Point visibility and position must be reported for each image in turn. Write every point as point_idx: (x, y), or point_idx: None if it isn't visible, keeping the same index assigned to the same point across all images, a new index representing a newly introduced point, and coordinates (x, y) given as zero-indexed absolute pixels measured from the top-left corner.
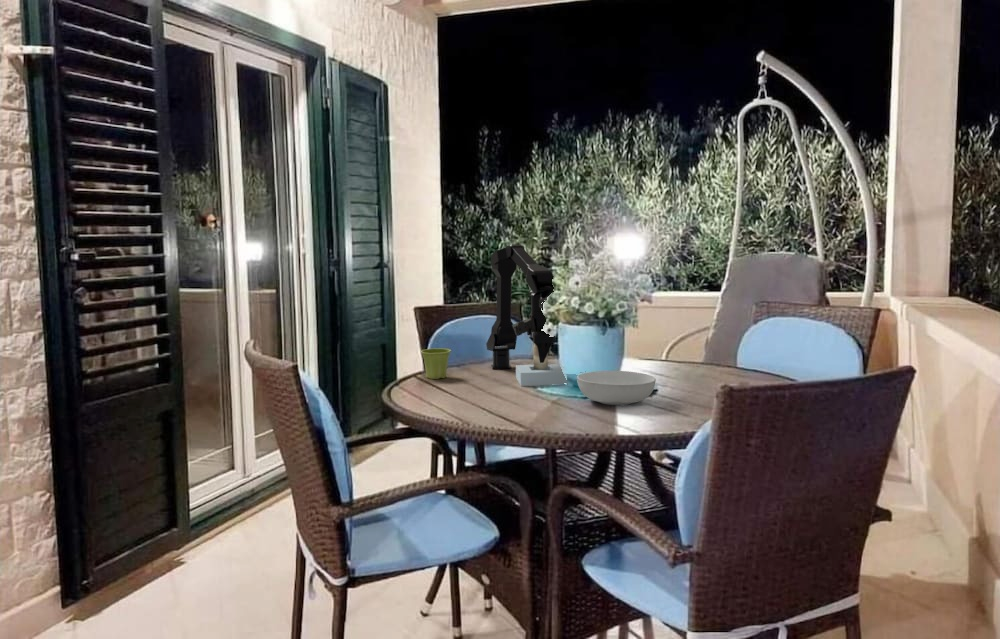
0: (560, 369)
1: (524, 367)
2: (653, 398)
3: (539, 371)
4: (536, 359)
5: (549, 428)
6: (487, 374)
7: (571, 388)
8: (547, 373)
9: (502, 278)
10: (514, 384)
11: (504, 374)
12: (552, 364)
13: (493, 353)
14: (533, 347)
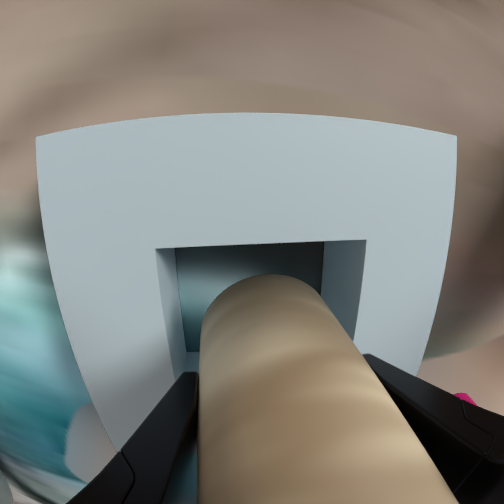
0: None
1: (339, 189)
2: (12, 490)
3: (98, 312)
4: (216, 358)
5: None
6: (478, 25)
7: (55, 398)
8: (80, 357)
9: None
10: (151, 93)
11: (482, 101)
12: None
13: None
14: (354, 453)
